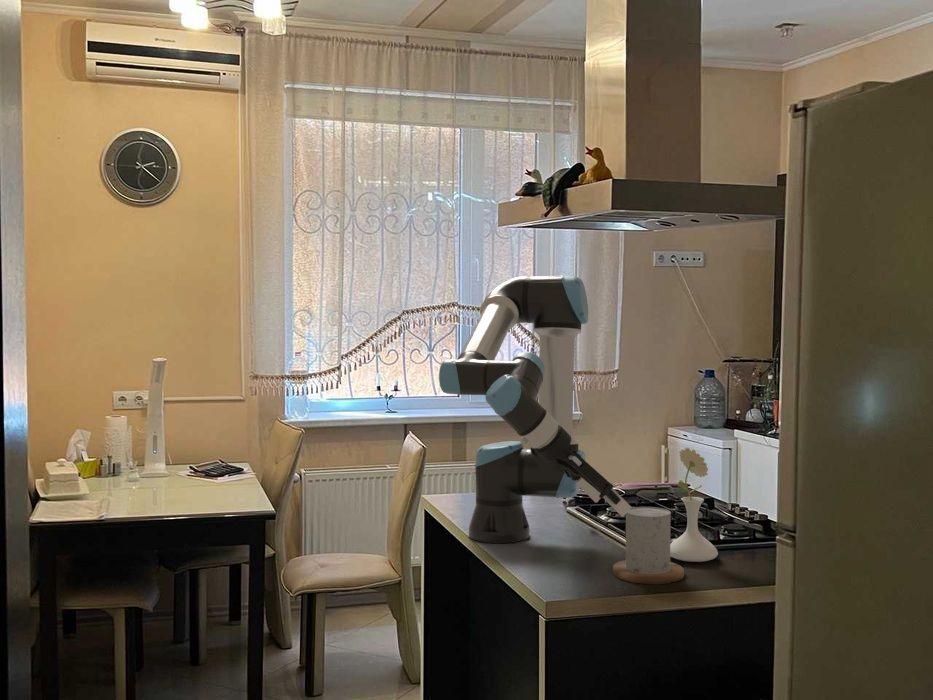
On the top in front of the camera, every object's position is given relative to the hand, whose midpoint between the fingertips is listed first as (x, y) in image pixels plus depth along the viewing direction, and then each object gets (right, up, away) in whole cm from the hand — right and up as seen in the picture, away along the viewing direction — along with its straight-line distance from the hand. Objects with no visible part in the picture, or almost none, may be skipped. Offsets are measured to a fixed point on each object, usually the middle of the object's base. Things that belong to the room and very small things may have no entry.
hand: (612, 504), depth 206 cm
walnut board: (+8, -15, +3) cm, 18 cm away
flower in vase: (+20, -15, +16) cm, 29 cm away
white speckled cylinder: (+8, -14, +3) cm, 17 cm away
